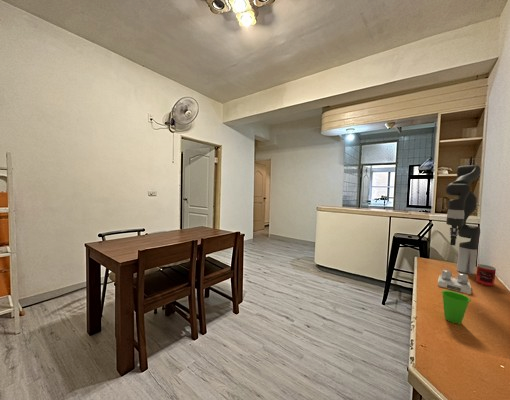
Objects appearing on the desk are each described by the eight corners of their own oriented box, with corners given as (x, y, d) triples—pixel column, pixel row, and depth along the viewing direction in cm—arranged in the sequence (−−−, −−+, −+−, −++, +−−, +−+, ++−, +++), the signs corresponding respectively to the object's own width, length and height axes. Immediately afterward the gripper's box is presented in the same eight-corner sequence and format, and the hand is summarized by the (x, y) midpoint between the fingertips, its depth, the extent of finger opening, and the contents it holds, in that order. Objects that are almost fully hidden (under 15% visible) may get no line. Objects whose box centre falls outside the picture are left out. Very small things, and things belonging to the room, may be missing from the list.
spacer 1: (441, 277, 133) (442, 269, 133) (451, 279, 130) (452, 271, 130) (441, 279, 130) (442, 270, 130) (451, 281, 127) (451, 273, 127)
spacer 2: (457, 280, 128) (458, 272, 128) (467, 283, 125) (468, 274, 125) (456, 282, 125) (457, 274, 125) (467, 285, 122) (468, 276, 122)
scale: (438, 279, 138) (439, 274, 137) (469, 286, 128) (470, 281, 128) (437, 285, 127) (437, 280, 127) (471, 294, 117) (471, 289, 117)
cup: (460, 317, 95) (462, 292, 94) (473, 329, 86) (476, 302, 85) (435, 312, 97) (437, 288, 97) (445, 324, 89) (447, 298, 88)
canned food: (485, 281, 137) (487, 264, 137) (498, 287, 129) (500, 269, 129) (472, 280, 138) (473, 263, 137) (483, 286, 130) (485, 268, 129)
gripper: (447, 215, 137) (444, 240, 138) (446, 217, 127) (444, 244, 128) (463, 217, 132) (461, 243, 133) (464, 219, 122) (461, 247, 123)
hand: (452, 243), depth 131 cm, fingers open, 8 cm apart
